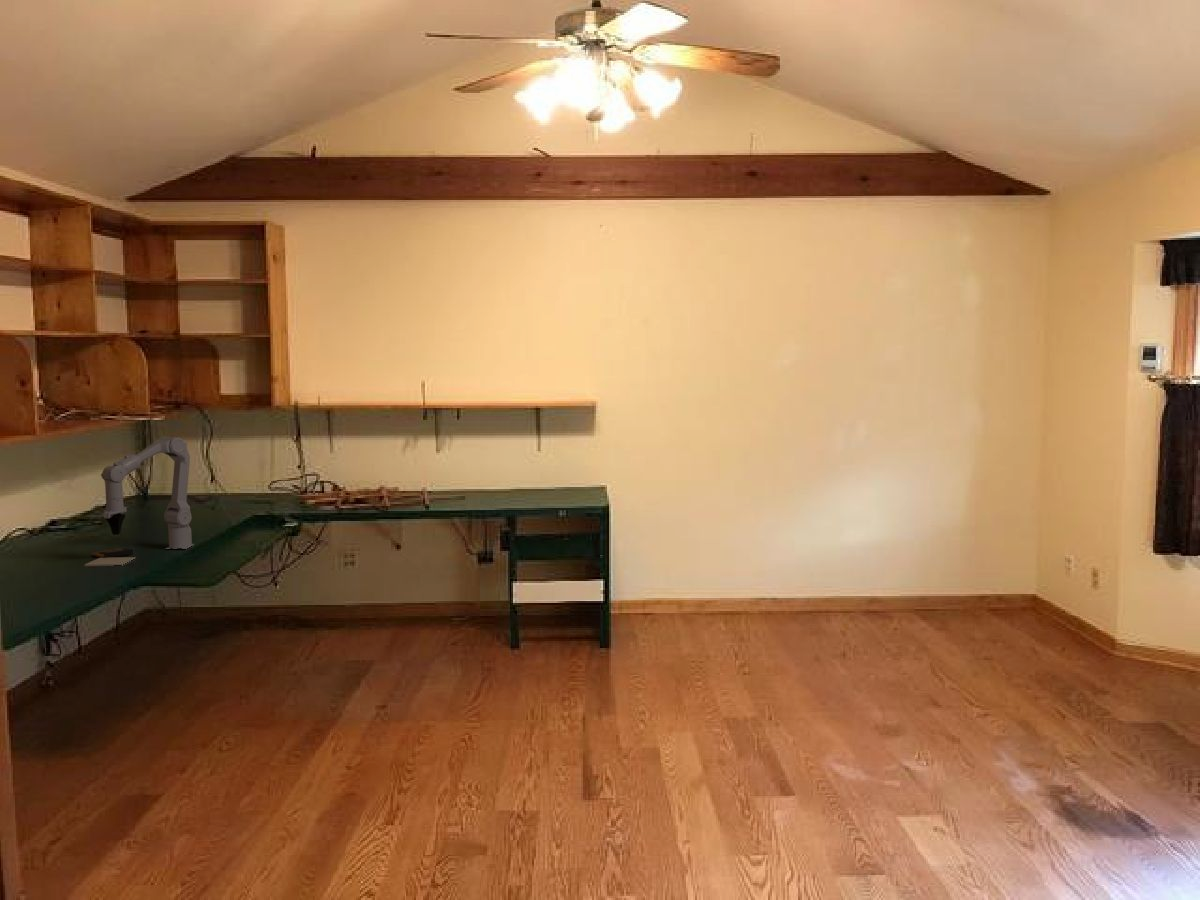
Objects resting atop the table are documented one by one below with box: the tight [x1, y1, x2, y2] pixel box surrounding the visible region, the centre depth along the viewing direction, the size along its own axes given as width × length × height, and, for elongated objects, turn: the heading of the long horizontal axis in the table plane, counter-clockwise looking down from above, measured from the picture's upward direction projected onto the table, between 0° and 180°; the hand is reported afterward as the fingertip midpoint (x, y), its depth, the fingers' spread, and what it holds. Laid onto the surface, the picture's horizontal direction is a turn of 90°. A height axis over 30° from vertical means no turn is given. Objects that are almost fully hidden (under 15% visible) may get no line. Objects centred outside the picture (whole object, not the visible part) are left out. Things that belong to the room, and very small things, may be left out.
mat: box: [84, 556, 137, 567], centre depth 350 cm, size 12×13×1 cm
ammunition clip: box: [91, 548, 134, 558], centre depth 363 cm, size 11×2×12 cm
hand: (116, 534), depth 355 cm, fingers closed
